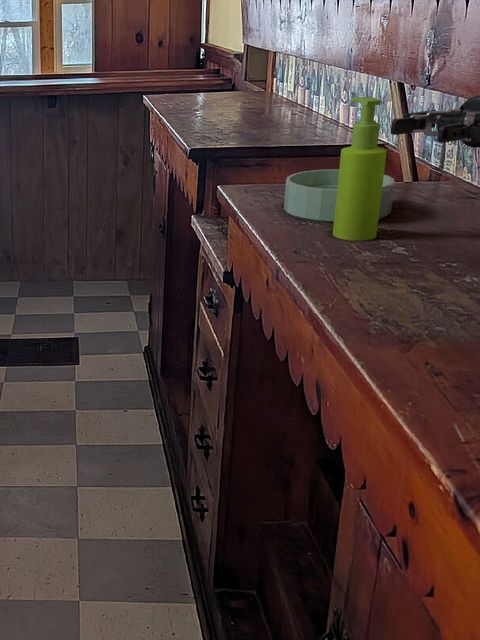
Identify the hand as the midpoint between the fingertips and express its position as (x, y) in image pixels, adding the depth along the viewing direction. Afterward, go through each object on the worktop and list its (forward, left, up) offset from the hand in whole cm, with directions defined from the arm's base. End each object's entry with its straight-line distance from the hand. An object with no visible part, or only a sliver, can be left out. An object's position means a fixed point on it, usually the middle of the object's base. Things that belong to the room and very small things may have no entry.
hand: (416, 130), depth 123 cm
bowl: (+12, -6, -15) cm, 20 cm away
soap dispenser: (+5, +9, -15) cm, 18 cm away
